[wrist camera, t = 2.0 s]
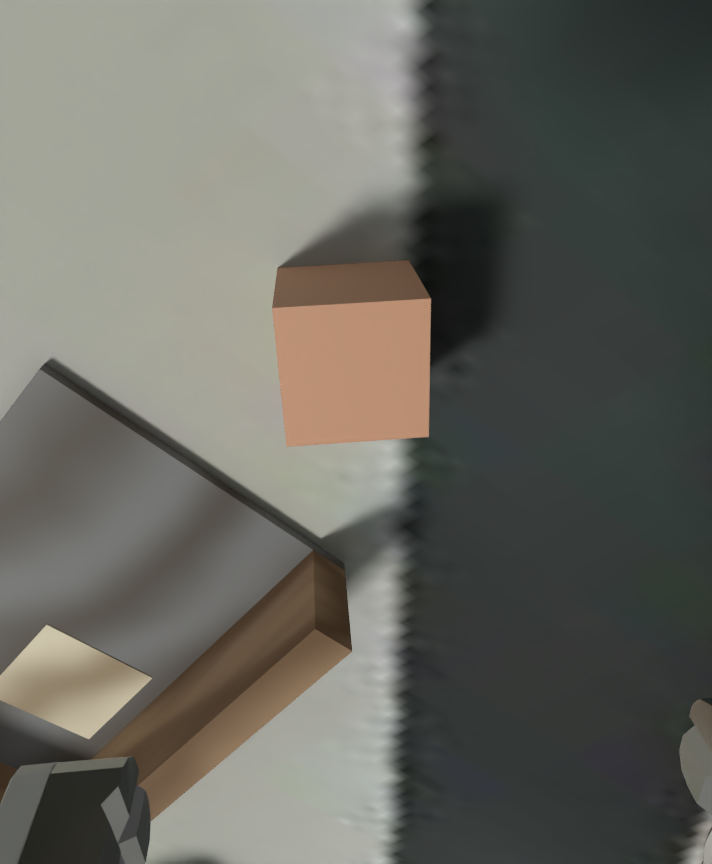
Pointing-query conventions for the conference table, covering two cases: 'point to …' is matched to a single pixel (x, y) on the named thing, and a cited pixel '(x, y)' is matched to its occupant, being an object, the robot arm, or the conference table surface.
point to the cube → (352, 352)
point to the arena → (144, 599)
